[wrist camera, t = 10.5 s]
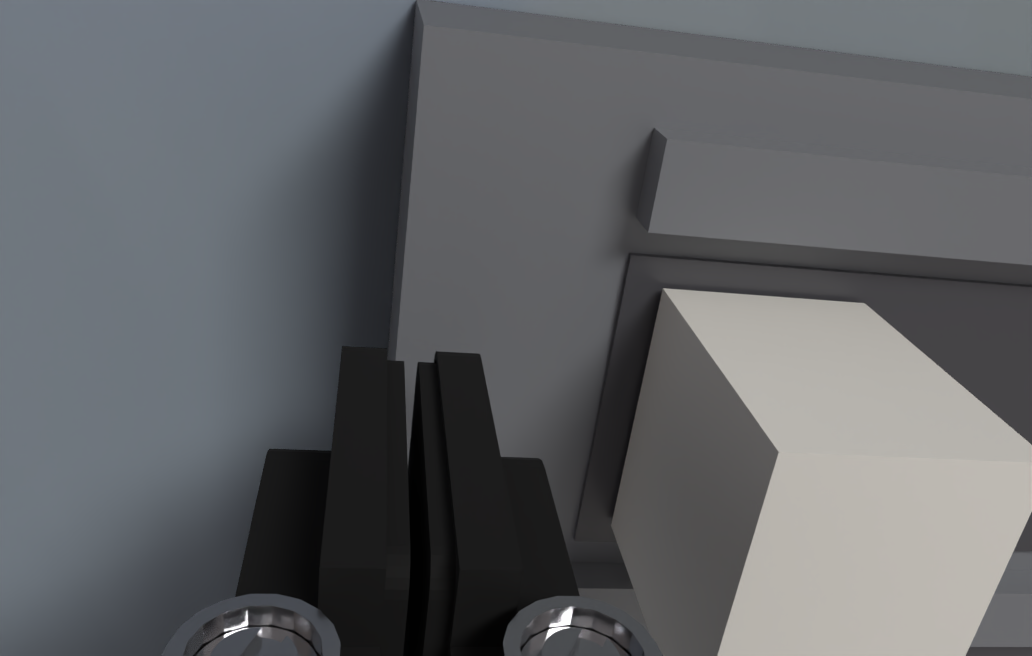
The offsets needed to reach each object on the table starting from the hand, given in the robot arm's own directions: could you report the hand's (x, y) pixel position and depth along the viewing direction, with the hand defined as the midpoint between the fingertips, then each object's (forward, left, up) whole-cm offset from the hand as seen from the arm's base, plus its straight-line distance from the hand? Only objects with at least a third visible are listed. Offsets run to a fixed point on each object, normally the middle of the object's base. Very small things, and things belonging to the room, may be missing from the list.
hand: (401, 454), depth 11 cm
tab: (0, -5, -1) cm, 5 cm away
